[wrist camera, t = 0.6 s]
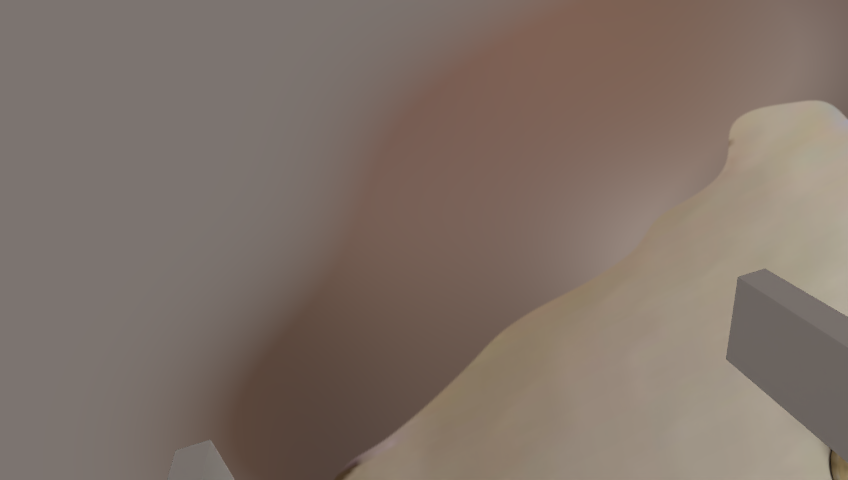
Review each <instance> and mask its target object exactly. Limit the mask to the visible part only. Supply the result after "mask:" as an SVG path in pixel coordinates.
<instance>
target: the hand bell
mask: <svg viewBox="0 0 848 480" xmlns="http://www.w3.org/2000/svg"><path fill="white" fill-rule="evenodd" d="M831 468H832V469H831V471H832V475H833V479H834V480H848V463H847V462H846V461H845V460H844V459H842V458H841V457H840V456H839V455H838V454H837V453H835V452H834V451H833V450H832V454H831Z"/></svg>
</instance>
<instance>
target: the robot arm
mask: <svg viewBox="0 0 848 480" xmlns="http://www.w3.org/2000/svg"><path fill="white" fill-rule="evenodd" d="M726 359H727V360H728V361H729V362H730V363H731V364H732V365H734V366H735V367H736V368H737V369H738V370H739V371H741V372H742V373H743V374H744V375H745V376H746V377H748V378H749V379H750V380H751V381H752V382H753V383H755V384H756V385H757V386H758V387H759V388H760V389H762V390H763V391H764V392H765V393H766V394H768V395H769V396H770V397H771V398H772V399H773V400H775V401H776V402H777V403H778V404H779V405H780V406H782V407H783V408H784V409H785V410H786V411H787V412H789V413H790V414H791V415H792V416H793V417H794V418H796V419H797V420H798V421H799V422H800V423H801V424H803V425H804V426H805V427H806V428H807V429H808V430H810V431H811V432H812V433H813V434H814V435H815V436H817V437H818V438H819V439H820V440H821V441H823V442H824V443H825V444H826V445H827V446H828V447H830V448H831V449H832V450H833V451H834V452H835V453H837V454H838V455H839V456H840V457H841V458H842V459H844V460H845V461H846V462H847V463H848V317H847V316H845V315H844V314H842V313H840V312H838V311H837V310H835V309H833V308H832V307H830V306H828V305H826V304H825V303H823V302H821V301H820V300H818V299H816V298H814V297H813V296H811V295H809V294H808V293H806V292H804V291H802V290H801V289H799V288H797V287H796V286H794V285H792V284H791V283H789V282H787V281H785V280H784V279H782V278H780V277H779V276H777V275H775V274H773V273H772V272H770V271H768V270H767V269H762V270H759V271H756V272H753V273H749V274H746V275H743V276H740V277H738V280H737V287H736V294H735V301H734V307H733V314H732V321H731V328H730V335H729V342H728V348H727V355H726ZM167 480H234V478H233V476H232V474H231V473H230V471H229V469H228V468H227V466H226V464H225V463H224V461H223V460H222V458H221V456H220V455H219V453H218V451H217V450H216V448H215V447H214V445H213V443H212V441H211V440H208V441H204V442H201V443H198V444H195V445H192V446H188V447H185V448H182V449H178V450H176V451H175V454H174V458H173V461H172V465H171V468H170V472H169V475H168V478H167Z"/></svg>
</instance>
